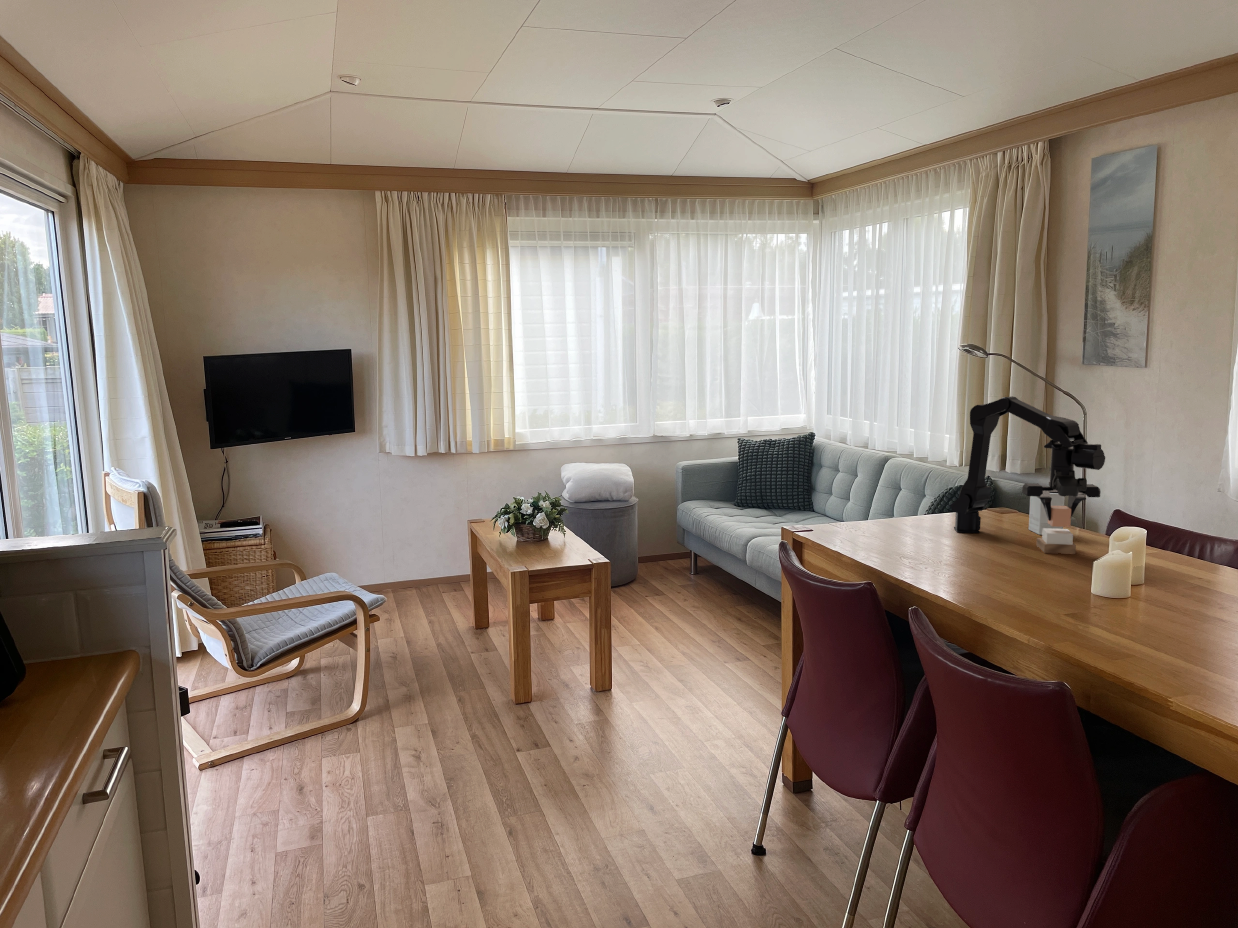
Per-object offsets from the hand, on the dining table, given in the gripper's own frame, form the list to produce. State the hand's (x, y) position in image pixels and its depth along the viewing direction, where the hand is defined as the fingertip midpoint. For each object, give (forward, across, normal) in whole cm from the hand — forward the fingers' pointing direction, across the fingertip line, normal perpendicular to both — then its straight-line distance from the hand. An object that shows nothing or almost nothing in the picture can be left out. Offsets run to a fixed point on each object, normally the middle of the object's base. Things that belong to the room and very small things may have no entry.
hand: (1058, 520), depth 240 cm
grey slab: (+6, 0, 0) cm, 6 cm away
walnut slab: (+9, 0, 0) cm, 9 cm away
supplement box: (+9, +3, +23) cm, 25 cm away
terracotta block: (+1, 0, 0) cm, 1 cm away
